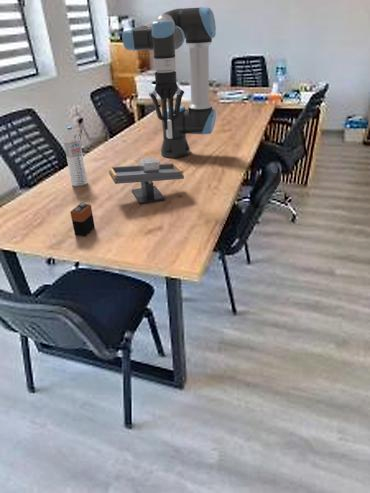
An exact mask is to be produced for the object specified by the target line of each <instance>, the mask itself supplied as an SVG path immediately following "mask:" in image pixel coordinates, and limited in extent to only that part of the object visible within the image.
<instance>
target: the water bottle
mask: <svg viewBox="0 0 370 493" xmlns="http://www.w3.org/2000/svg"><path fill="white" fill-rule="evenodd" d="M66 129H67V131H66V132H65V133H64V135H63V137H62V141H63V143H64V149H65V154H66V162H67V165H68V166H67V168H68V172H69V176H70V181H71V184H72V186H73V187H76V188H80V187H84V186H87V184H88V177H87V172H86V166H85V160H84V155H83V151H82V143H81V137H80V135H79V134H78V133H77V132H76V131H75V130H73V128H72V126H67V127H66Z"/></svg>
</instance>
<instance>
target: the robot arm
mask: <svg viewBox="0 0 370 493" xmlns="http://www.w3.org/2000/svg"><path fill="white" fill-rule="evenodd" d="M215 19H216V18H215V15H214V11H213V10H212V9H211V8H210V7H203V6H202V7H201V6H200V7H189V8H187V7H186V8H180V7H179V8H175V9H172V10H168V11H165V12H164V13H161V14H158V15H157V17H156V18H155V19H154V20H152V21H150V22H149V21H148V22H147V23H144V24H142V25H140V26H136V27H132V26H131V27H125V28H124V29H123V30H122V35H121V37H122V38H121V39H122V45H123V46H124V48H125V50H126V51H134V52H135V51H152V52H153V63H154V64H153V65H154V66H153V67H154V68H153V69H154V71H155V73H154V75H155V76H154V79H155V87H154V90H153V91H151V92H149V94H148V95H149V97H150V98H151V99H152V103H153V107H154V109H155V114H156V115H157V119H158V120H160V121H161V125H162V139H163V140H162V144H161V146H160V147H161V148H160V154H161V156H162V157H165V158H170V159H173V158H174V159H175V158H176V159H177V158H178V159H179V158H182V157H183V156H184V157H186V155H187V156H189V155H190V154H189V153H191V148H190V145H189V143H188V140H187V135H211V134H212V133H213V131H214V128H215V125H216V120H217V119H216V118H217V110H215V109H214V108H213V104H212V103H211V102H210V78H209V77H210V75H209V74H210V69H209V68H210V66H209V64H210V62H209V60H210V59H209V57H210V56H209V47H210V45H211V44H212V43H213V42H212V41H213V38H215V37H216V33H217V29H216V28H217V27H216V20H215ZM184 42H185V44H186V45H187V46H188V48H189V71H190V72H189V76H190V78H189V79H190V103H189V105H188V107H187V108H188V109H186V106H185V105H182V98H183V97H184V94H185V90H183V89H180V88H179V85H178V84H177V83H178V82H177V72H176V69H177V66H176V65H177V63H176V50H177V49H179V48H181V47H182V46H183V44H184ZM175 95H176V98H175V97H174V96H175ZM158 96H159V98H160V102H161V108H160V104H159V102H158V99H157V97H158ZM174 98H175V102H174ZM188 154H189V155H188ZM184 157H183V158H184Z"/></svg>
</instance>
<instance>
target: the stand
mask: <svg viewBox="0 0 370 493" xmlns="http://www.w3.org/2000/svg"><path fill="white" fill-rule="evenodd" d="M151 182H152V183H151V184H149V183H148V182H140V186H141V187H140V188H135V189H134V188H133V189H131V193H132V194H133V196H134V197H135V199H136V200H137V202H138V204H139V205H140V206H143V205H149V204H156V203H160V202H165V201H166V197H165V196H164V195H163V194H162V192H161V191H160V190H159V189H158V187H157V186H156V185H154V181H151Z"/></svg>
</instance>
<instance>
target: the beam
mask: <svg viewBox="0 0 370 493" xmlns="http://www.w3.org/2000/svg"><path fill="white" fill-rule="evenodd" d="M108 173H109V176H110V177H111V179H112V181H113V182H114V184H115V185H116V184H117V185H118V184H128V183H129V184H132V183H133V184H134V183H141V182H148V183H149V184H151V183H152V182H160V181H172V180H175V181H176V180H184V179H185V175H183V174H184V171H183V169H182V168H180V167H179V166H178V164H176V163H173V162H172V163H171V162H170V163H159V172H156V173H141V171H140V164H139V165H135V164H134V165H123V166H121V165H120V166H118V165H117V166H112V167H109V171H108ZM151 181H152V182H151Z"/></svg>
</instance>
